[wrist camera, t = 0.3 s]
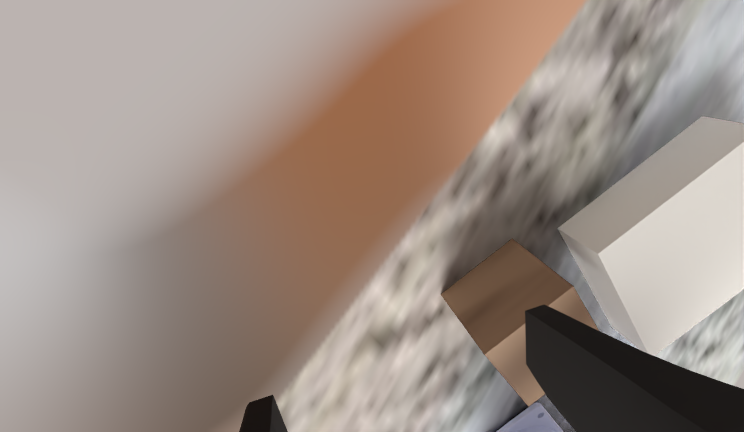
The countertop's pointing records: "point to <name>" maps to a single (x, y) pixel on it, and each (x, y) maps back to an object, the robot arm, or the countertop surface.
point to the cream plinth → (667, 236)
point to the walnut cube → (511, 309)
